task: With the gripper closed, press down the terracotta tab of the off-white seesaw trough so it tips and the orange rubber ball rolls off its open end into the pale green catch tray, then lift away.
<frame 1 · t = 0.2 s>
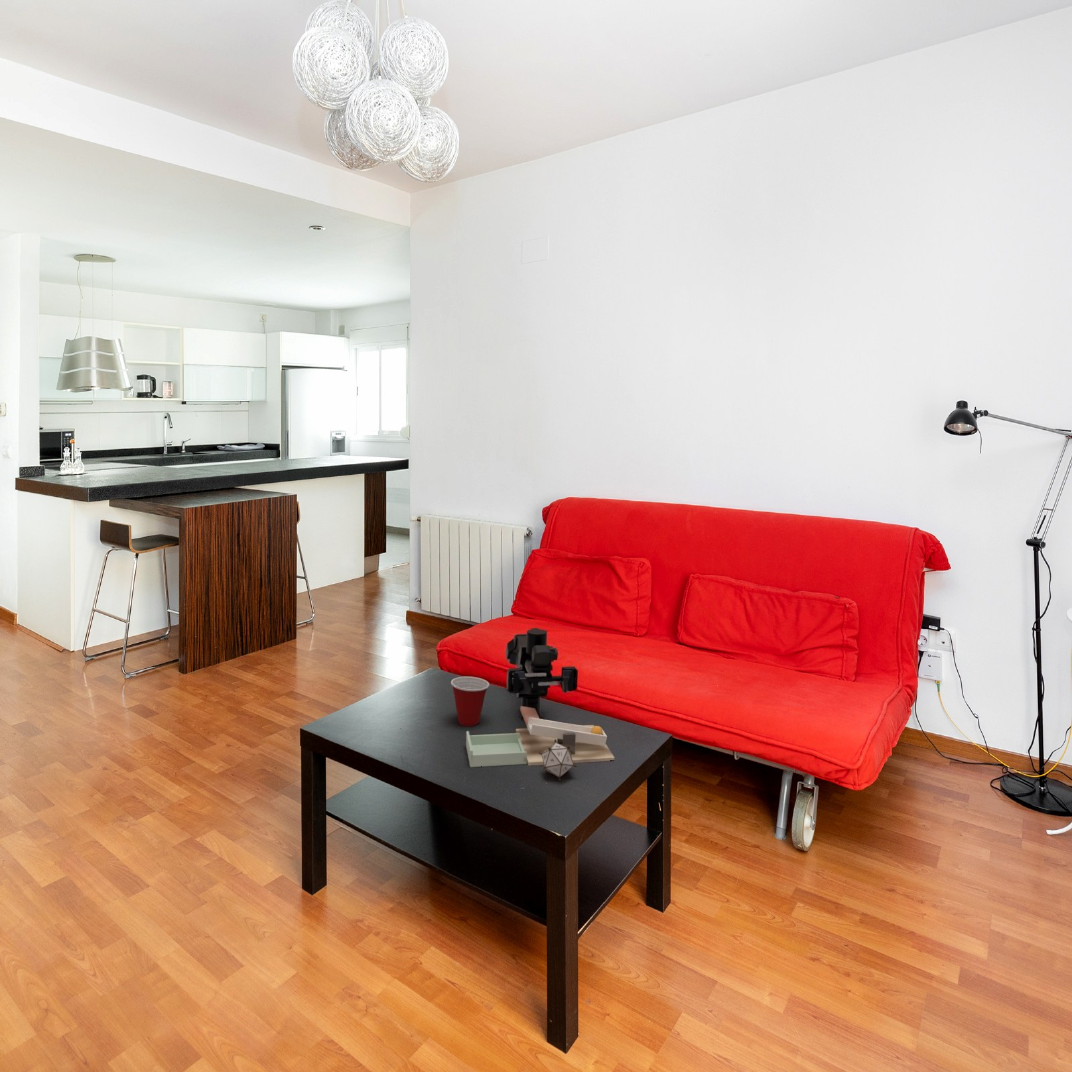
hand: (548, 691, 185), 16 cm above the table, tool horizontal, fingers open, 9 cm apart
lever stand: (565, 751, 188), on the table
lever: (562, 722, 193), point 5 cm above the table, hinge at -12.0°, touching ball
game die: (557, 776, 175), on the table
catch tray: (495, 755, 185), on the table
plastic cup: (469, 723, 206), on the table
ball: (596, 731, 189), point 5 cm above the table, tilted 13°, touching lever
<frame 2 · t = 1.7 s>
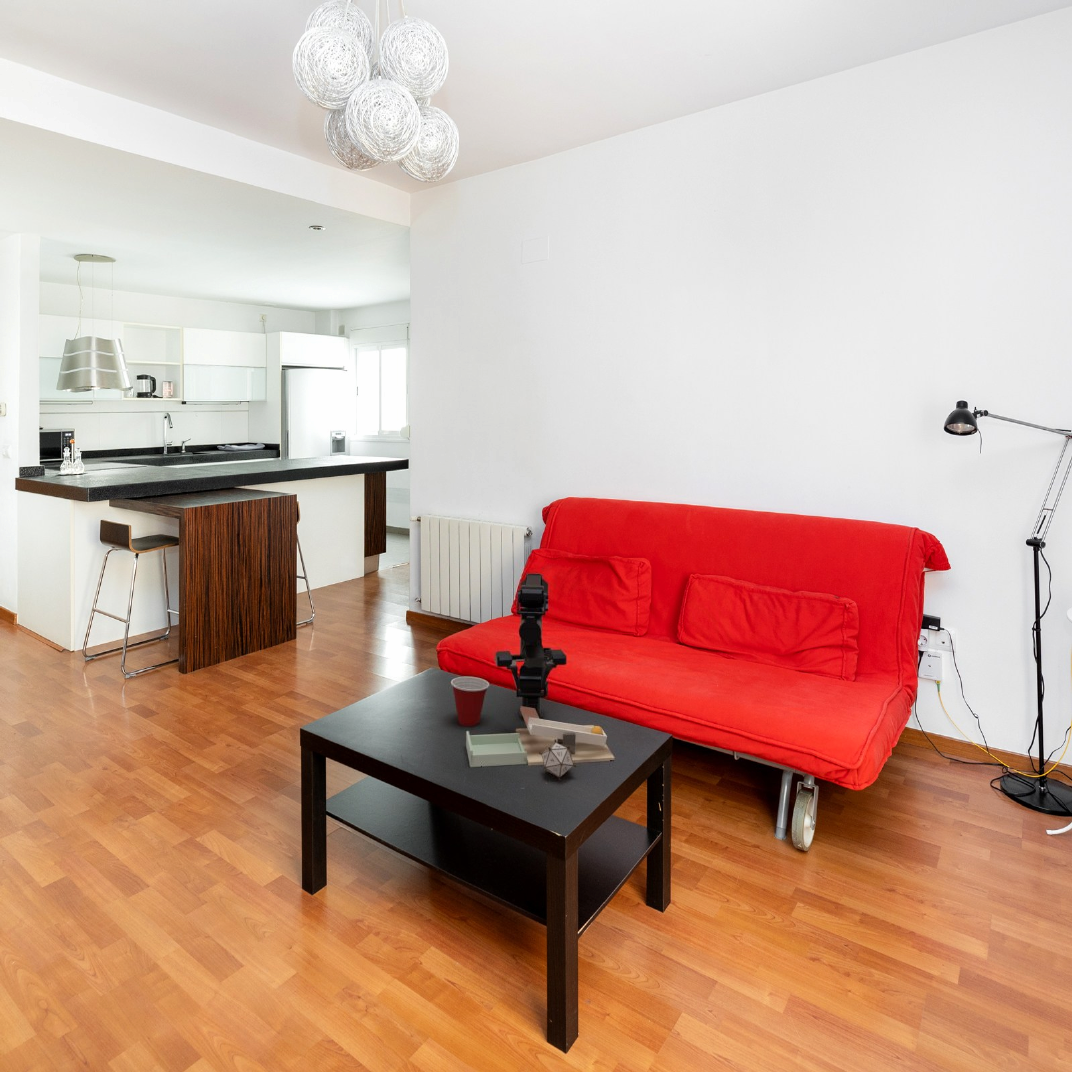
hand: (529, 688, 196), 13 cm above the table, tool pointing down, fingers open, 6 cm apart
nothing on the table moved.
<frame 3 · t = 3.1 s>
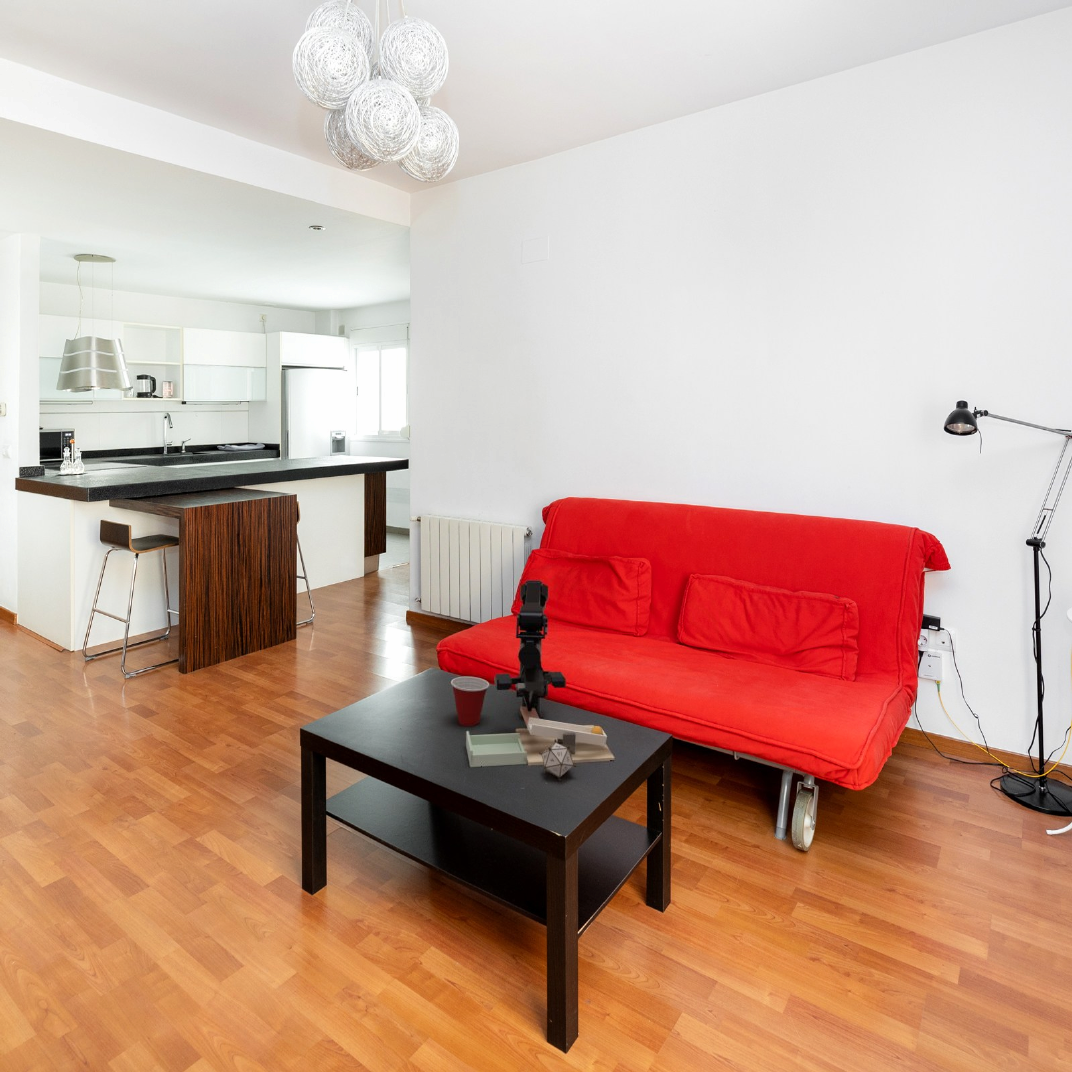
hand: (529, 711, 197), 7 cm above the table, tool pointing down, fingers closed, pressing on lever
lever: (562, 722, 193), point 5 cm above the table, hinge at -12.0°, touching ball, gripper
everything else where it was.
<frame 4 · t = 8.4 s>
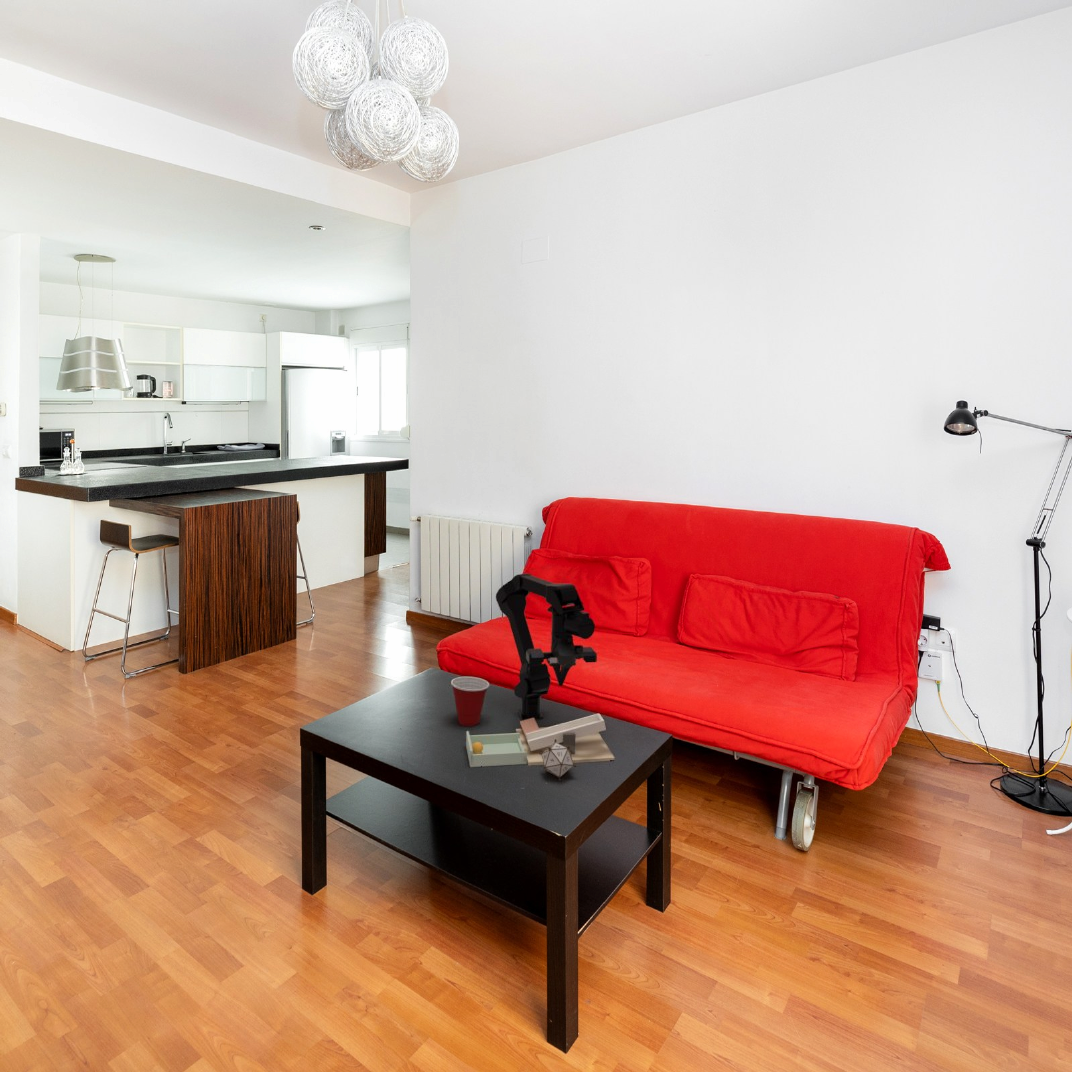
hand: (560, 685, 199), 13 cm above the table, tool pointing down, fingers closed
lever: (560, 722, 193), point 5 cm above the table, hinge at 13.4°
ball: (477, 748, 184), point 2 cm above the table, tilted 167°, touching catch tray
everything else where it was.
at the end: ball inside the target area on the catch tray (4.7 cm from its centre), point 2.1 cm above the catch tray's base; lever at +13° (first picture: -12°) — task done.
